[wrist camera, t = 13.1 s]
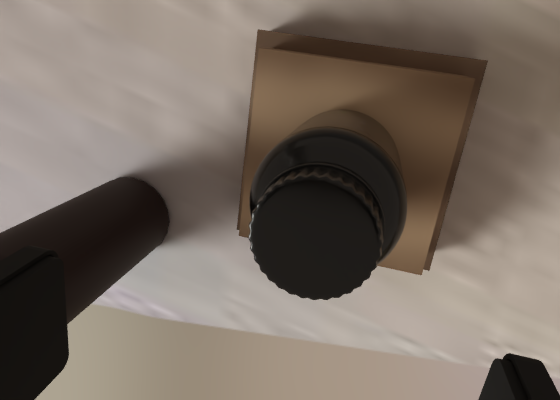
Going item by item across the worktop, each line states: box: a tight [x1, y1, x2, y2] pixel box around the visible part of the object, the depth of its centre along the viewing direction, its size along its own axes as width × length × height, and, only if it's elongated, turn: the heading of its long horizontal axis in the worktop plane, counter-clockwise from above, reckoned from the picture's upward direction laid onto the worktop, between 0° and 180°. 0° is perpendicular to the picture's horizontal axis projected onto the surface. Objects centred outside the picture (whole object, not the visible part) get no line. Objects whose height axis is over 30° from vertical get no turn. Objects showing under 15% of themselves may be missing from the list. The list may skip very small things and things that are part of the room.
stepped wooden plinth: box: [237, 30, 488, 275], centre depth 29 cm, size 14×14×6 cm
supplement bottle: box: [248, 109, 407, 300], centre depth 21 cm, size 7×7×12 cm
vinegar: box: [0, 178, 169, 324], centre depth 29 cm, size 7×7×20 cm
